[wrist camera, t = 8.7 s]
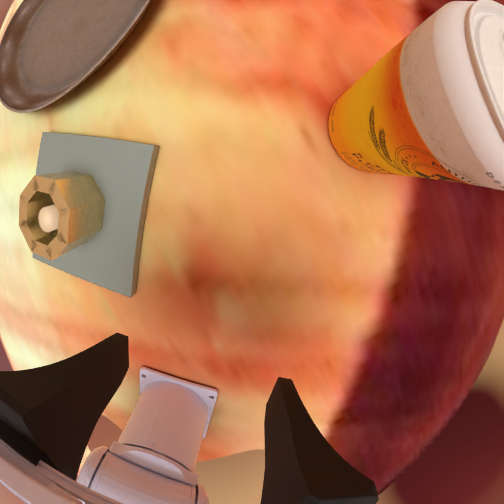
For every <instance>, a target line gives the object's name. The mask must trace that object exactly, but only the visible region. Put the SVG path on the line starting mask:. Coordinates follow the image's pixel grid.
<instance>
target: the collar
mask: <svg viewBox="0 0 504 504" xmlns="http://www.w3.org/2000/svg"><path fill="white" fill-rule="evenodd" d="M105 201H106V200H105V198H104V196H103V194H102V192H101V190H100V189H99V187H98V185H97V183H96V181H95V179H94V177H93V175H88V174H83V173H78V172H73V171H70V172H60V173H51V174H43V175H35V176H34V177H33V178H32V180H31V181H30V182H29V184H28V185H27V186H26V188H25V189H24V191H23V192H22V193H21V195H20V208H19V227H20V229H21V231H22V233H23V235H24V237H25V239H26V241H27V243H28V246H29V248H30V249H31V251H32V252H33V253H35V254H38V255H40V256H42V257H44V258H47V259H49V260H53V259H55V258H57V257H59V256H61V255H63V254H65V253H67V252H69V251H71V250H73V249H75V248H77V247H79V246H81V245H83V244H85V243H86V242H87V241H89V240H90V239H91V238H92V237H93V236H94V235H96V234H97V233H98V232H99V231H100V230H101V229H102V226H103V217H104V208H105ZM54 204H55V206H56V208H57V210H58V212H59V217H58V229H56V230H53V231H51V232H45V231H43V230H42V228H41V227H40V224H39V219H38V217H39V212H40V210H41V209H42V208H43V207H47V206H51V205H54Z"/></svg>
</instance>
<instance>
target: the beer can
mask: <svg viewBox="0 0 504 504" xmlns="http://www.w3.org/2000/svg"><path fill="white" fill-rule="evenodd" d="M328 128H329V135H330V138H331V141H332V144H333V146H334V148H335V149H336V151H337V152H338V154H339V155H340V156H341V157H342V159H344V160H345V161H346V162H347V163H348V164H349V165H351V166H352V167H354V168H356V169H358V170H361V171H364V172H369V173H381V174H393V175H404V176H414V177H423V178H431V179H439V180H446V181H453V182H459V183H466V184H472V185H478V186H483V187H488V188H494V189H499V190H503V191H504V6H503V5H501V4H499V3H497V2H495V1H492V0H479V1H476V2H471V1H454V2H450V3H447V4H446V5H444V6H443V7H441V8H440V9H439V10H438V11H436V12H435V13H434V14H433V15H431V16H430V17H429V18H428V19H427V20H425V21H424V22H423V23H422V24H421V25H419V26H418V27H417V28H416V29H415V30H413V31H412V32H411V33H410V34H409V35H408V36H406V37H405V38H404V39H403V40H402V41H401V42H399V43H398V44H397V45H396V46H395V47H394V48H393V49H391V50H390V51H389V52H388V53H387V54H386V55H385V56H384V57H382V58H381V59H380V60H379V61H378V62H377V63H376V64H375V65H374V66H373V67H371V68H370V69H369V70H368V71H367V72H366V73H365V74H364V75H363V76H362V77H361V78H360V79H359V80H357V81H356V82H355V83H354V84H353V85H352V86H351V87H350V88H349V89H348V90H347V91H346V92H345V93H344V94H343V95H342V96H341V97H340V98H339V99H338V100H337V101H336V102H335V103H334V105H333V107H332V109H331V111H330V115H329V121H328Z"/></svg>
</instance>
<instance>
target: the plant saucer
mask: <svg viewBox="0 0 504 504" xmlns="http://www.w3.org/2000/svg"><path fill="white" fill-rule="evenodd" d="M150 2H151V0H23V2H22V3H21V5H20V6H19V8H18V9H17V11H16V12H15V14H14V16H13V17H12V19H11V21H10V23H9V25H8V26H7V29H6V31H5V33H4V35H3V38H2V40H1V43H0V101H1V103H2V104H3V105H4V106H5V107H6V108H7V109H9V110H11V111H13V112H17V113H27V112H32V111H36V110H39V109H41V108H43V107H45V106H47V105H49V104H51V103H53V102H55V101H57V100H58V99H60V98H61V97H63V96H65V95H66V94H68V93H69V92H70V91H72V90H73V89H75V88H76V87H77V86H78V85H80V84H81V83H82V82H83V81H85V80H86V79H87V78H88V77H90V76H91V75H92V74H93V73H94V72H95V71H96V70H97V69H98V68H100V67H101V66H102V65H103V64H104V63H105V62H106V61H107V60H108V59H109V58H110V56H111V55H112V54H113V53H114V52H115V51H116V50H117V49H118V48H119V47H120V45H121V44H122V43H123V42H124V41H125V39H126V38H127V37H128V36H129V34H130V33H131V32H132V31H133V29H134V28H135V26H136V25H137V23H138V22H139V21H140V19H141V18H142V16H143V14H144V13H145V11H146V9H147V8H148V6H149V4H150Z"/></svg>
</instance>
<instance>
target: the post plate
mask: <svg viewBox="0 0 504 504" xmlns="http://www.w3.org/2000/svg"><path fill="white" fill-rule="evenodd" d="M159 147H160V146H155V145H149V144H143V143H137V142H130V141H124V140H117V139H109V138H101V137H93V136H84V135H74V134H63V133H50V132H43V133H42V138H41V144H40V150H39V156H38V163H37V170H36V175H43V174H51V173H60V172H70V171H73V172H78V173H83V174H88V175H93V177H94V179H95V181H96V183H97V185H98V187H99V189H100V190H101V192H102V194H103V196H104V198H105V200H106V201H105V208H104V217H103V226H102V229H101V230H100V231H99V232H98V233H97V234H96V235H94V236H93V237H92V238H91V239H90V240H89V241H87V242H86V243H85V244H83V245H81V246H79V247H77V248H75V249H73V250H71V251H69V252H67V253H65V254H63V255H61V256H59V257H57V258H55V259H53V260H49V259H47V258H44V257H42V256H40V255H38V254H35V253H33V258H35V259H37V260H39V261H41V262H43V263H46V264H48V265H50V266H52V267H55V268H57V269H59V270H62V271H64V272H66V273H69V274H71V275H73V276H76V277H78V278H81V279H83V280H86V281H88V282H91V283H93V284H96V285H98V286H101V287H104V288H106V289H109V290H111V291H114V292H117V293H120V294H122V295H125V296H128V297H132V296H133V295H134V294H135V293H136V286H137V276H138V266H139V258H140V250H141V242H142V235H143V228H144V222H145V216H146V210H147V204H148V198H149V193H150V188H151V183H152V178H153V173H154V168H155V164H156V159H157V155H158V151H159ZM58 217H59V212H58V210H57V208H56V206H55V204H54V205H51V206H47V207H43V208H42V209H41V210H40V212H39V217H38V219H39V224H40V227H41V228H42V230H43V231H45V232H51V231H53V230H56V229H58Z"/></svg>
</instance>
